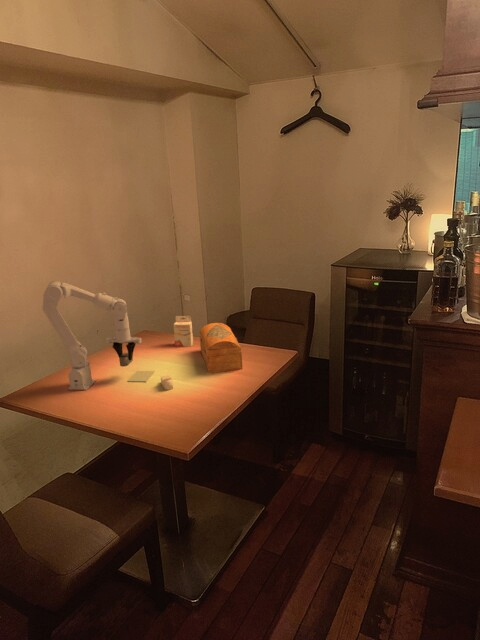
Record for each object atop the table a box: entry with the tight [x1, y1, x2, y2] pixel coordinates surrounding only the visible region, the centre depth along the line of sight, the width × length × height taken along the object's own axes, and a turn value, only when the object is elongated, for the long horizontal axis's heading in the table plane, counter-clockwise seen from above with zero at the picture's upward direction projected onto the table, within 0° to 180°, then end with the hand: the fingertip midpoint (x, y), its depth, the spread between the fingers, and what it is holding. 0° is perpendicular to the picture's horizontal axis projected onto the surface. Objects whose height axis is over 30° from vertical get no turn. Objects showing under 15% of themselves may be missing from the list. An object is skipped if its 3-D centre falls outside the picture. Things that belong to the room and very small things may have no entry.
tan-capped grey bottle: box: [118, 352, 134, 367], centre depth 197 cm, size 9×4×4 cm, turn 172°
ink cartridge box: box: [173, 315, 194, 347], centre depth 236 cm, size 9×5×15 cm, turn 84°
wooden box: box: [199, 322, 243, 374], centre depth 214 cm, size 30×16×14 cm, turn 10°
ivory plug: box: [160, 374, 174, 391], centre depth 189 cm, size 9×4×4 cm, turn 22°
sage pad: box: [127, 370, 155, 383], centre depth 200 cm, size 11×8×1 cm
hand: (126, 359), depth 197 cm, fingers closed on tan-capped grey bottle, 3 cm apart
